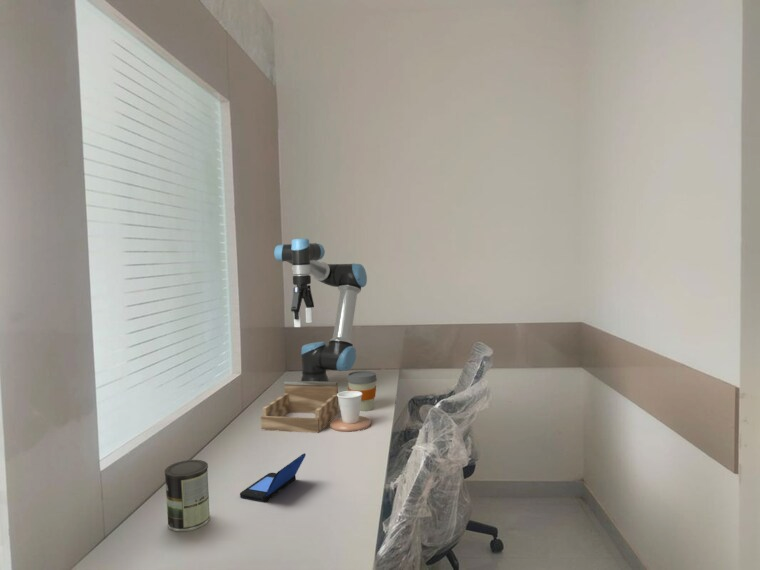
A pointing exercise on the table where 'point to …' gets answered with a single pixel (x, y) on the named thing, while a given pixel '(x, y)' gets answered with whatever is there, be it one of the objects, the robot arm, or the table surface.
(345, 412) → the cup
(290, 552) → the table surface
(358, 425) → the saucer
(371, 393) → the reusable coffee cup
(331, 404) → the frame
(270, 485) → the handheld game console
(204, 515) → the coffee can
